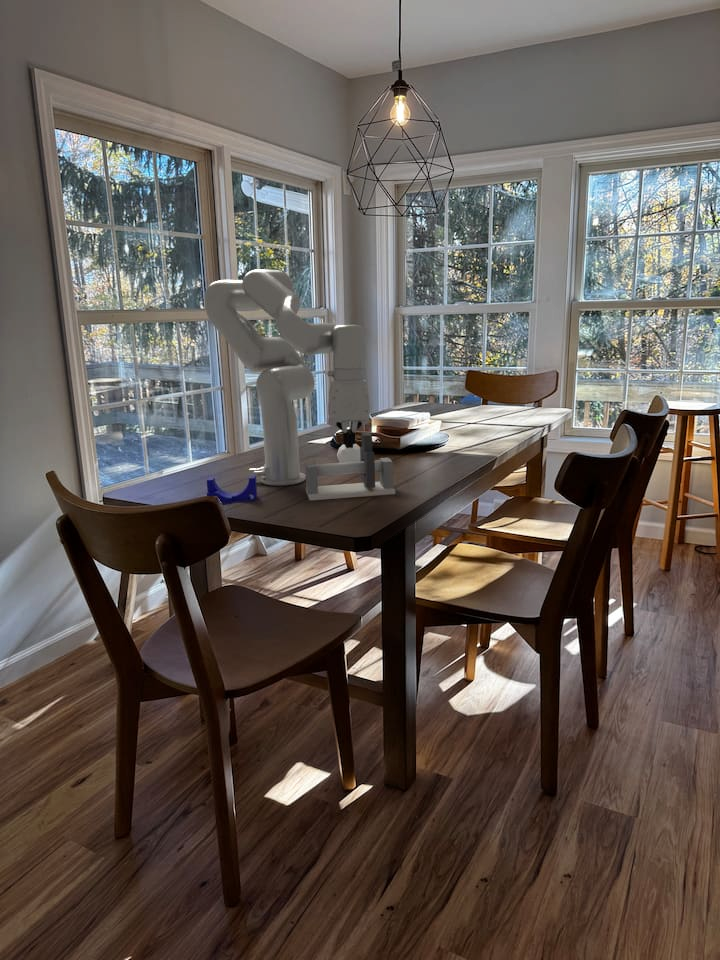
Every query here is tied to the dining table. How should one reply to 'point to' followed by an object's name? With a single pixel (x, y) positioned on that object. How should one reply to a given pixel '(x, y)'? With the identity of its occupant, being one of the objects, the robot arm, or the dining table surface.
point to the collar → (367, 460)
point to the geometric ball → (349, 454)
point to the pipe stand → (348, 489)
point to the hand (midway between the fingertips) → (348, 446)
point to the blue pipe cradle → (229, 497)
